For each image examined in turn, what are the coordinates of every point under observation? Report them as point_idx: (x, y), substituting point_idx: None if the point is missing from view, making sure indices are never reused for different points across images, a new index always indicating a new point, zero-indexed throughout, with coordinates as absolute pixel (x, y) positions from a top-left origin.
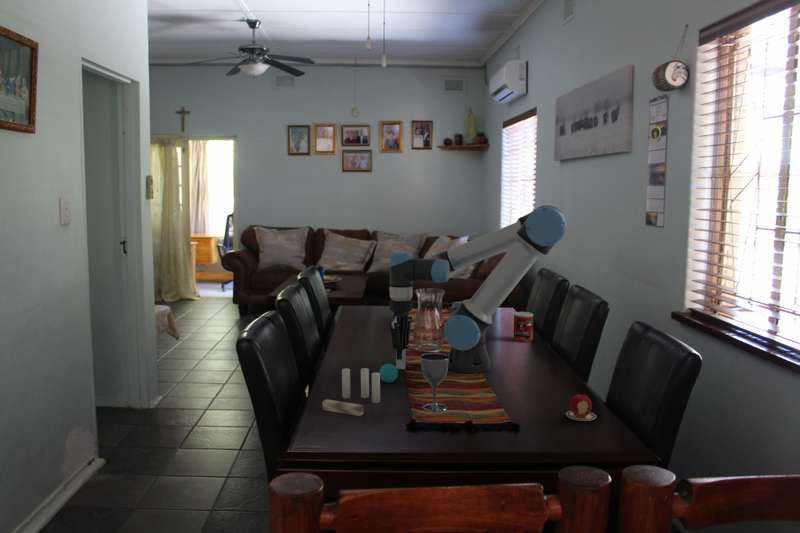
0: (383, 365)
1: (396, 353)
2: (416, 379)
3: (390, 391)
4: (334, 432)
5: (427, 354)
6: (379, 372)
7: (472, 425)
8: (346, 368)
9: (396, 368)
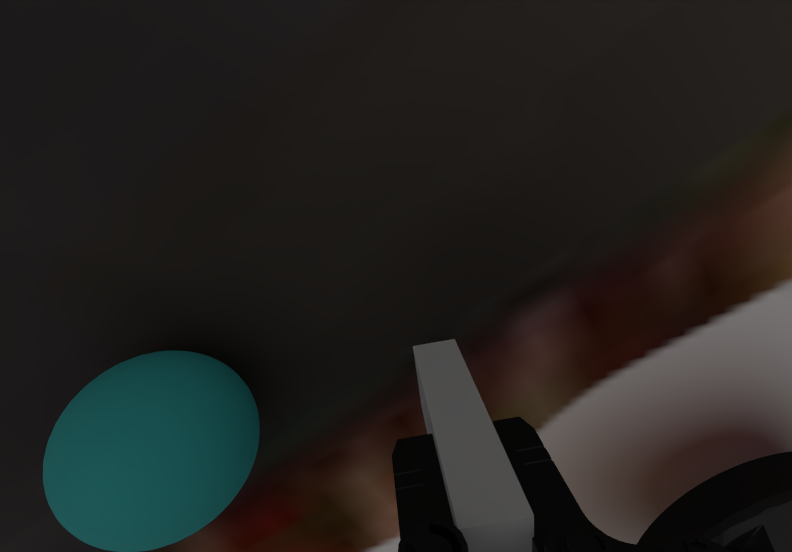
0: (76, 472)
1: (443, 470)
2: (384, 476)
3: None
4: None
5: None
6: (72, 399)
7: None
8: None
9: (196, 531)
